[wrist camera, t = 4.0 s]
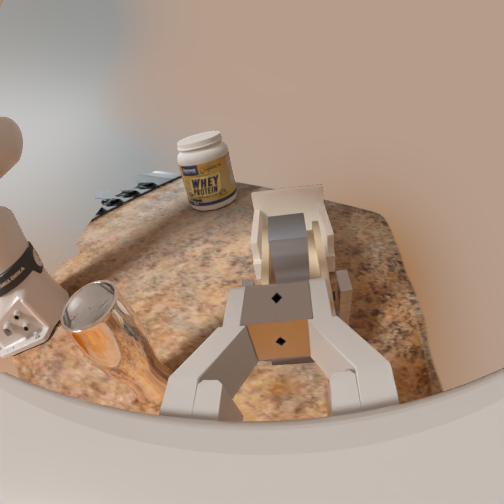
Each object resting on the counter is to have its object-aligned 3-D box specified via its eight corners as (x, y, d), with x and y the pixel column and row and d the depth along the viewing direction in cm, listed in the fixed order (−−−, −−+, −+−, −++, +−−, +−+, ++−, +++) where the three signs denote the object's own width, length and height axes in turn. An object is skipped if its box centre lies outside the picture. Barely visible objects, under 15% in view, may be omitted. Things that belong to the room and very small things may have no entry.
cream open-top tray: (335, 271, 41) (334, 219, 36) (256, 279, 43) (245, 229, 38) (324, 228, 50) (321, 184, 45) (260, 235, 52) (251, 192, 47)
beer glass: (122, 387, 30) (51, 309, 21) (159, 354, 34) (102, 269, 25) (151, 421, 26) (69, 347, 17) (192, 383, 30) (132, 296, 21)
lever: (339, 360, 26) (358, 250, 15) (263, 367, 27) (220, 264, 16) (322, 251, 37) (317, 140, 26) (264, 257, 39) (240, 150, 28)
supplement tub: (186, 216, 65) (165, 149, 55) (195, 195, 75) (179, 137, 65) (237, 207, 64) (220, 136, 54) (239, 187, 73) (226, 126, 64)
